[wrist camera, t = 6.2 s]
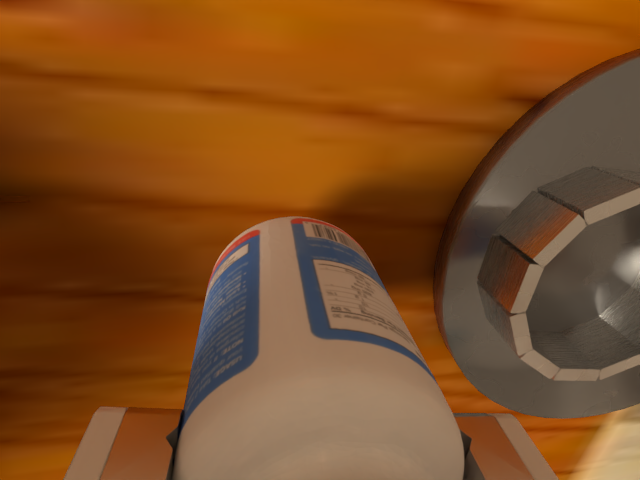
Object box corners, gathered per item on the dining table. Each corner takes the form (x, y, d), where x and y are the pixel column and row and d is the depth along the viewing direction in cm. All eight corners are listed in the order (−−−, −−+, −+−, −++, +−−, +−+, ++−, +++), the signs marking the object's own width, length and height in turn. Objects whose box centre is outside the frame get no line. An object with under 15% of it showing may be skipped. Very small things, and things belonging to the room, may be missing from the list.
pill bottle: (239, 368, 15) (207, 826, 6) (184, 237, 13) (4, 679, 4) (385, 328, 15) (560, 725, 6) (358, 191, 13) (576, 518, 4)
